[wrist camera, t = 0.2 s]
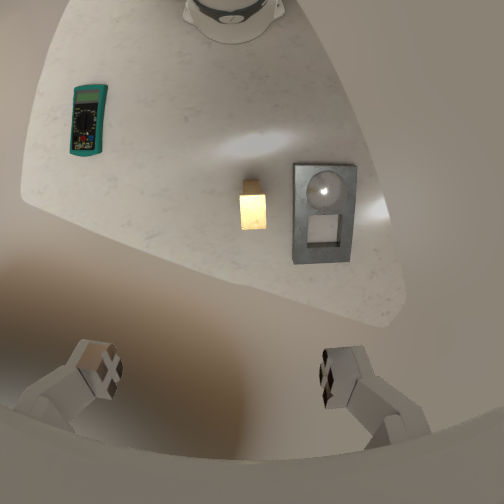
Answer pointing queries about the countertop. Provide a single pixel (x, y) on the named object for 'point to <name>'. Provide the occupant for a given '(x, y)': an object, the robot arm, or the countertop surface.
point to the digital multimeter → (87, 120)
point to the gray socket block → (323, 210)
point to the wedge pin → (252, 206)
